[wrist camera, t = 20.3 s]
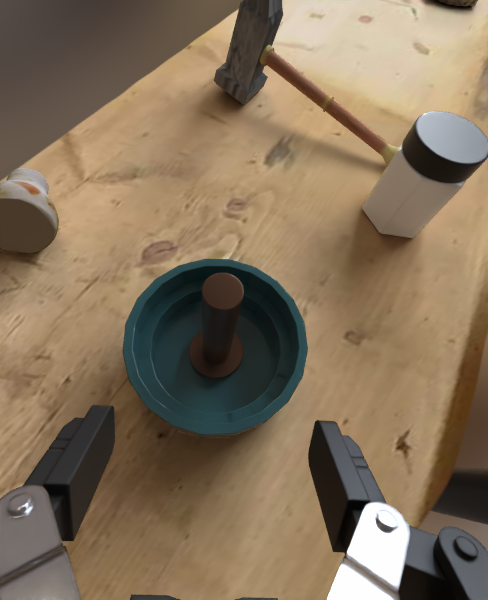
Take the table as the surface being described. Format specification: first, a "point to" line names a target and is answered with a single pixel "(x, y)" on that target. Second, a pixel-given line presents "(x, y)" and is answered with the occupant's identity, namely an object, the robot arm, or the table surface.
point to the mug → (26, 212)
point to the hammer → (278, 69)
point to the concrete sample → (460, 2)
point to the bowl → (181, 330)
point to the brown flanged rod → (218, 328)
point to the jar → (425, 173)
